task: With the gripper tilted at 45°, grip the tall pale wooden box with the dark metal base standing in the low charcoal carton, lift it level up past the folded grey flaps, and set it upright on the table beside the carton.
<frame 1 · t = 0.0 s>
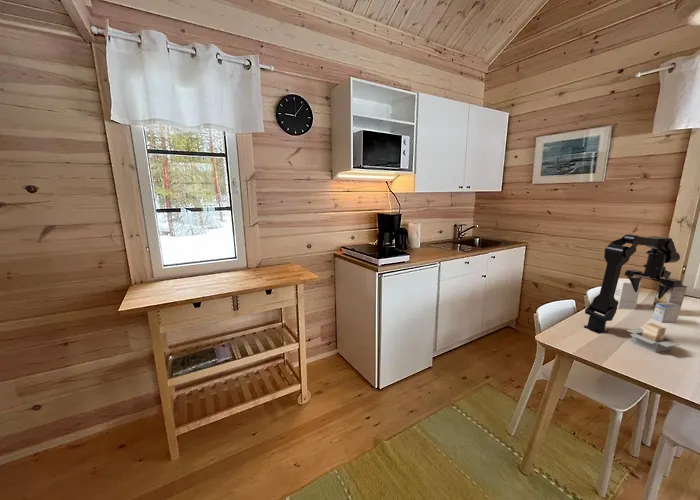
hand: (647, 295, 138), 15 cm above the table, tool pointing down, fingers open, 9 cm apart
supplement box: (620, 306, 163), on the table
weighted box: (652, 335, 120), in the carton
coffee box: (665, 311, 156), on the table
medicine box: (664, 320, 145), on the table
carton: (650, 345, 121), on the table
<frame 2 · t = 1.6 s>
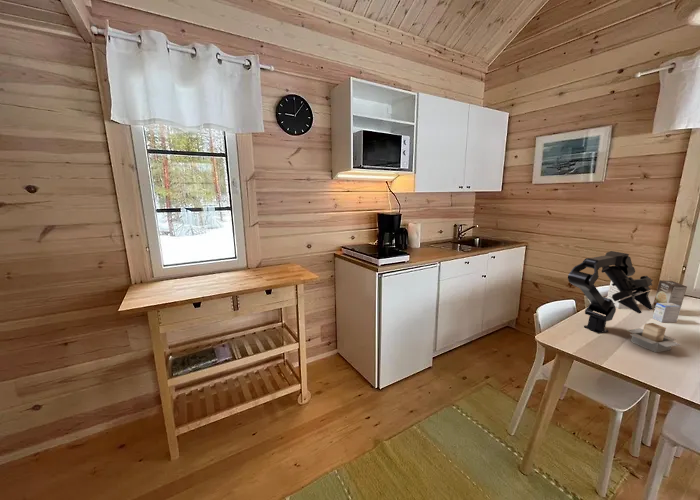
hand: (646, 311, 122), 14 cm above the table, tool tilted 45°, fingers open, 9 cm apart
nothing on the table moved.
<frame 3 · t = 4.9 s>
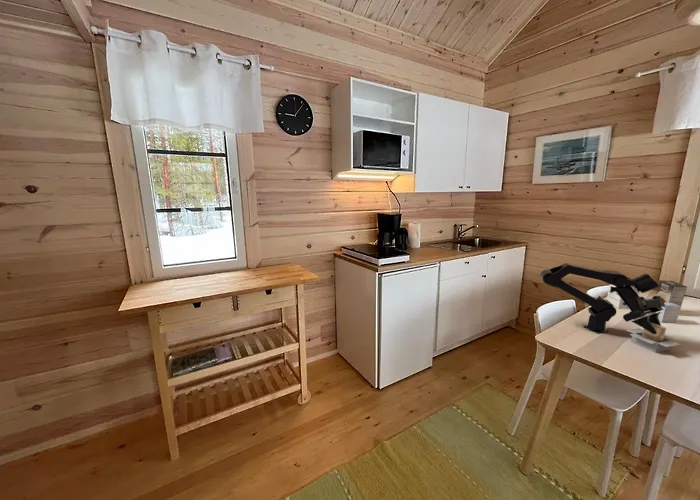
hand: (658, 332, 118), 7 cm above the table, tool tilted 45°, fingers closed on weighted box, 5 cm apart
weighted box: (652, 335, 120), in the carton, touching gripper
everything else where it was.
when the fingers open (8 cm above the table, at t = 10.0 s): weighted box drops 1 cm, on the table.
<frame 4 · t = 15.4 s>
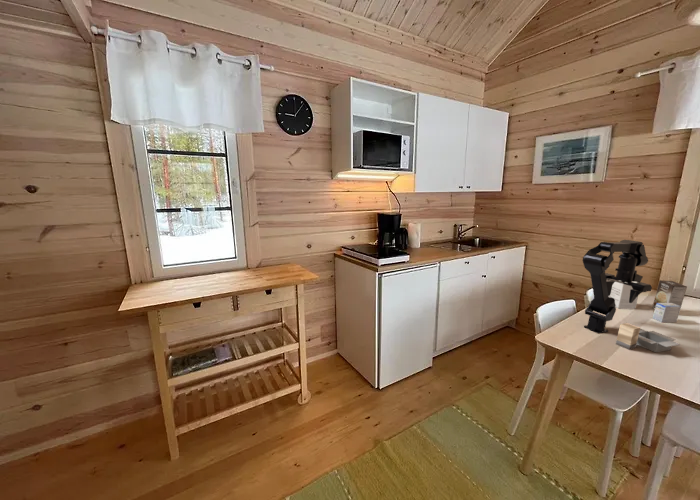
hand: (619, 299, 137), 13 cm above the table, tool pointing down, fingers open, 9 cm apart
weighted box: (627, 336, 119), on the table
everything else where it was.
at the end: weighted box inside the target area (0.3 cm from its centre), on the table; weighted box tilted 0°; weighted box touching table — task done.
